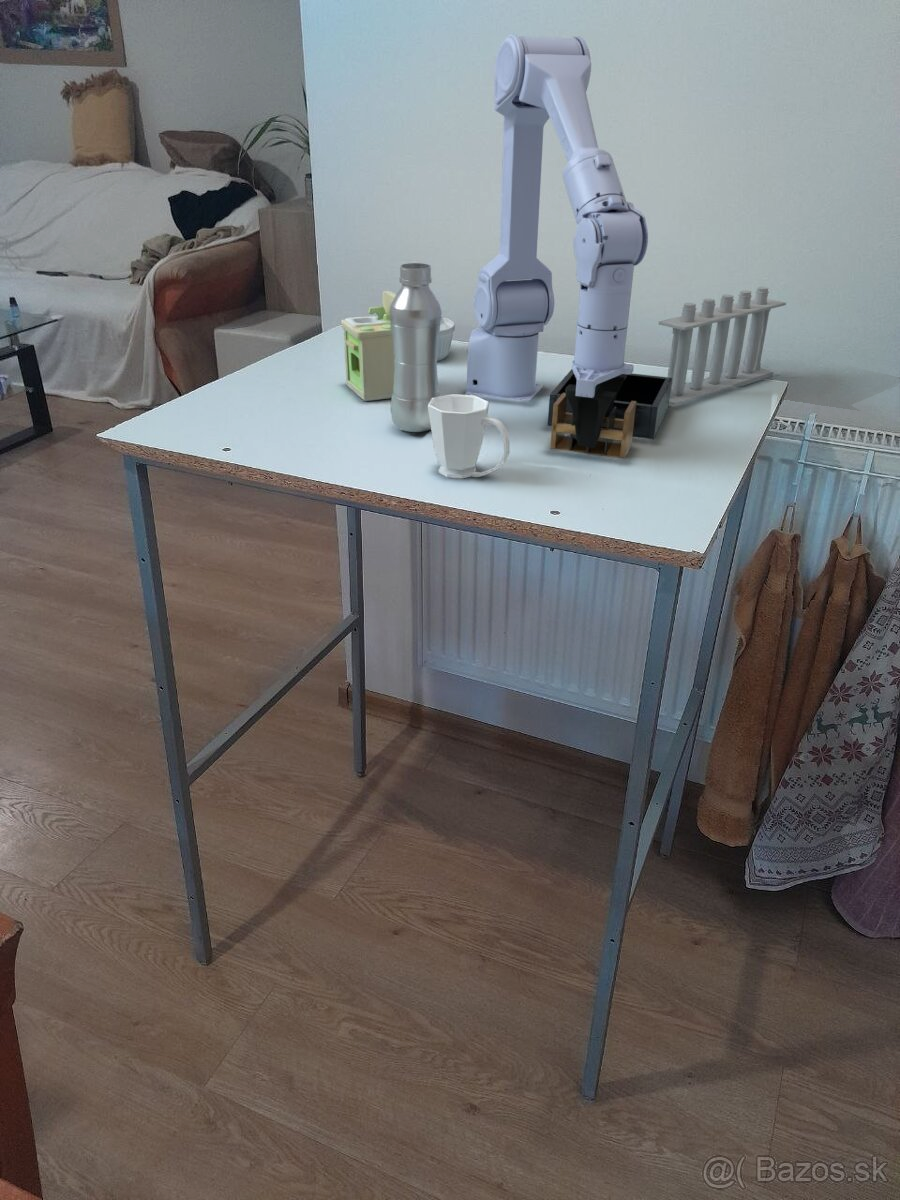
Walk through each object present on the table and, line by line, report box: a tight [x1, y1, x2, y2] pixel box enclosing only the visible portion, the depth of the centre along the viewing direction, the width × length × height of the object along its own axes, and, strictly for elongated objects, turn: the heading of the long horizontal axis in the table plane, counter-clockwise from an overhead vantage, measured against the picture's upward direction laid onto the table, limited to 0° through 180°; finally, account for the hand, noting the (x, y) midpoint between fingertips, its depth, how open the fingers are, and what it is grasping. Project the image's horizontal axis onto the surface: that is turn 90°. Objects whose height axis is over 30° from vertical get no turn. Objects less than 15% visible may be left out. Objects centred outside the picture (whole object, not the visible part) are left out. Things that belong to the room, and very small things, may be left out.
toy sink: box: [340, 290, 397, 402], centre depth 131 cm, size 8×7×13 cm
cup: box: [428, 393, 511, 480], centre depth 105 cm, size 7×10×8 cm
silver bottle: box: [389, 262, 443, 433], centre depth 115 cm, size 6×7×20 cm
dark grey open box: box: [547, 368, 673, 440], centre depth 124 cm, size 14×14×5 cm
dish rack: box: [550, 393, 636, 459], centre depth 113 cm, size 9×5×6 cm, turn 71°
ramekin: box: [437, 316, 456, 362], centre depth 149 cm, size 11×11×5 cm
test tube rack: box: [658, 286, 787, 406], centre depth 135 cm, size 25×4×13 cm, turn 132°
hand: (591, 438), depth 114 cm, fingers closed on dish rack, 5 cm apart
